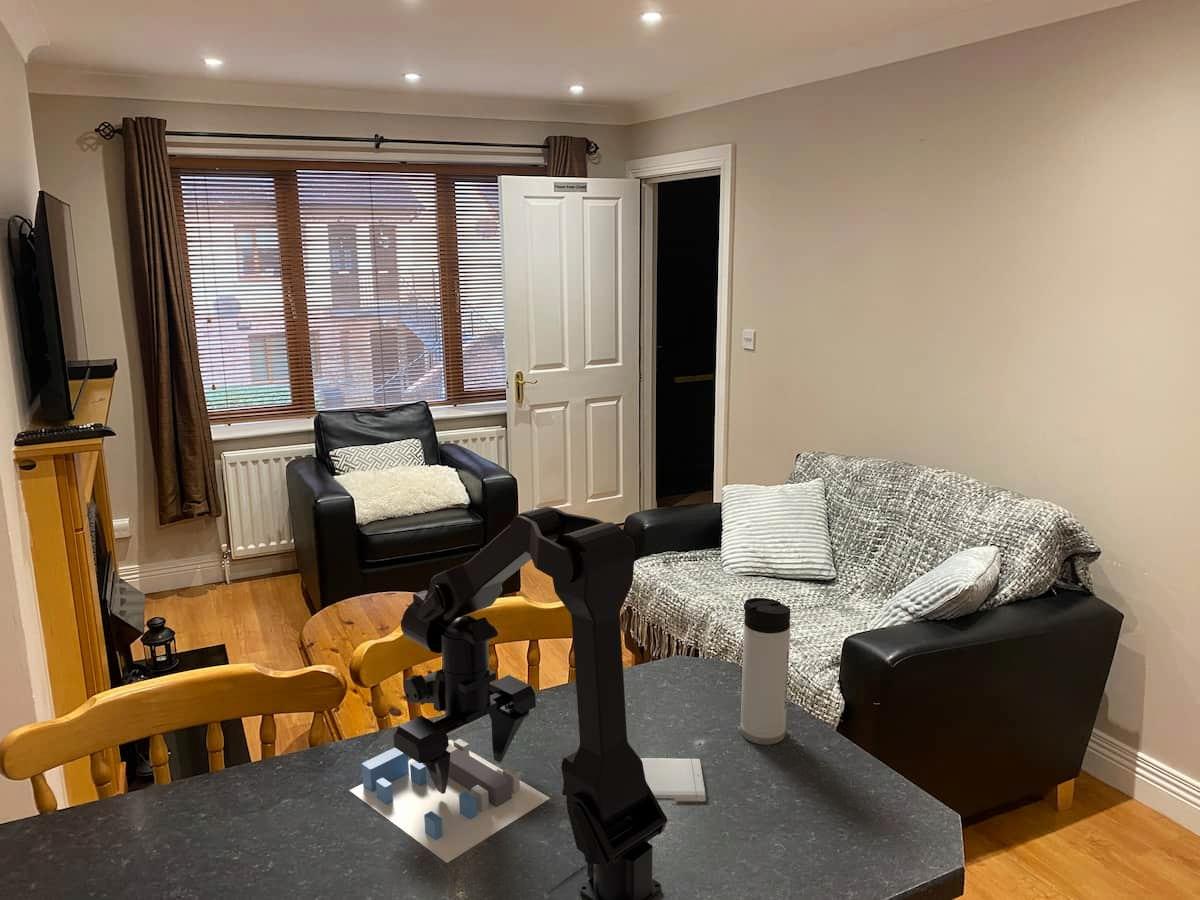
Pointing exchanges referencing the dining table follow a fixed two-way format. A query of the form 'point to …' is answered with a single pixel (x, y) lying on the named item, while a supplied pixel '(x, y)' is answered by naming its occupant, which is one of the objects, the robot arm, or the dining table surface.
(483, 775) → the dark grey bar
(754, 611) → the travel mug
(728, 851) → the dining table surface
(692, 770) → the hard drive
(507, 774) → the board
